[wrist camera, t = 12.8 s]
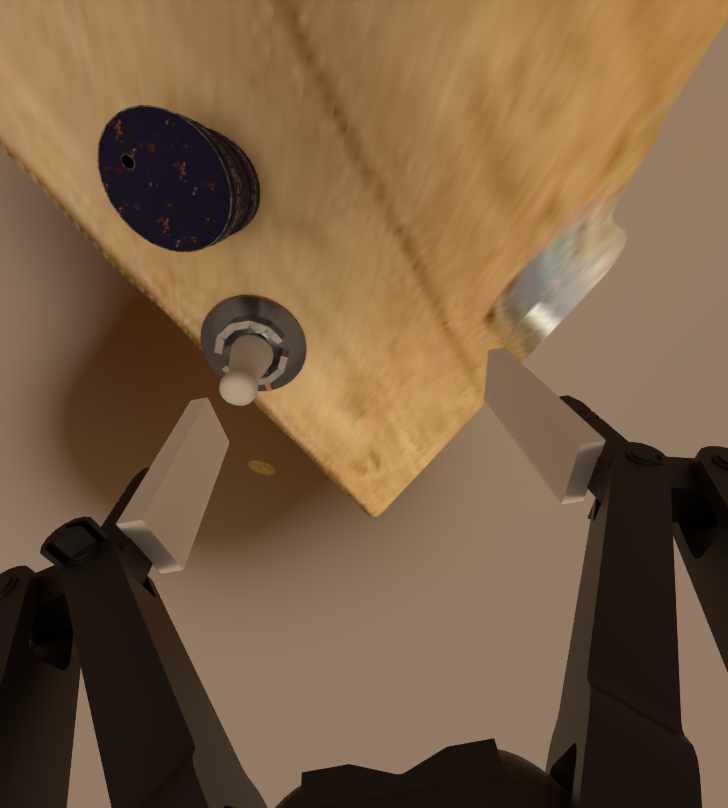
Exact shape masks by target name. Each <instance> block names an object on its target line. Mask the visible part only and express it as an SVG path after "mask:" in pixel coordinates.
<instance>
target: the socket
mask: <svg viewBox="0 0 728 808" xmlns="http://www.w3.org/2000/svg"><path fill="white" fill-rule="evenodd" d="M247 334H248V335H259V336H260V337H261V338H263V339H265V340H266V341H267V342H268V343H269V344H270V345H271V348H272V351H273V360H272V364H271V365H270V367H269V368H268V369H267V371H266V372H265V373H264V375H263V376H262V377H261V379H260V380H259V381H258V383H257V384H258V391H272V390H273V389H277V388H280V387H282V386H284V385H286V384H288V383H289V382H290V381H292V380H293V379H294V378H295V377H296V376H297V375H298V373H299V372H300V370H301V369H302V366H303V364H304V361H305V356H306V341H305V336H304V333H303V331H302V328H301V326H300V325H299V323H298V322H297V320H296V319H295V318H294V316H293V315H292V314H291V313H290V312H289V311H288V310H287V309H285V308H284V307H283V306H281V305H280V304H278V303H276V302H274V301H272V300H269V299H267V298H263V297H260V296H253V295H242V296H236V297H232V298H229V299H227V300H224V301H223V302H221V303H219V304H218V305H217V306H216V307H214V308H213V310H212V311H211V312H210V313H209V314H208V316H207V317H206V319H205V321H204V323H203V325H202V330H201V346H202V350H203V353H204V356H205V358H206V360H207V362H208V363H209V364H210V366H211V367H212V369H213V370H214V371H215V372H216V373H217V374H218V375H219V376H220V377H222V378H223V377H224V375H225V374H226V373H227V372H229V364H230V354H231V348H232V344H233V343H234V342H235V341H236V339H237V338H239V337H241V336H244V335H247Z"/></svg>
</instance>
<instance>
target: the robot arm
mask: <svg viewBox="0 0 728 808" xmlns="http://www.w3.org/2000/svg"><path fill="white" fill-rule="evenodd" d="M484 400H485V401H486V403H487V404H488V405H489V407H490V408H491V409H492V411H493V412H494V413H495V415H496V416H497V418H498V419H499V420H500V422H501V423H502V424H503V425H504V427H505V428H506V430H507V431H508V432H509V434H510V435H511V436H512V438H513V439H514V441H515V442H516V443H517V445H518V446H519V447H520V448H521V450H522V451H523V453H524V454H525V456H526V457H527V458H528V460H529V461H530V462H531V464H532V465H533V466H534V468H535V469H536V470H537V472H538V473H539V474H540V476H541V477H542V478H543V480H544V481H545V482H546V484H547V485H548V487H549V488H550V489H551V491H552V492H553V493H554V495H555V496H556V497H557V499H558V500H559V502H560V503H561V504H567V503H572V502H578V501H583V500H584V497H585V495H586V492H587V490H588V489H589V490H590V491H591V493H592V494H593V495H594V496H595V497H596V498H595V501H594V504H593V506H592V509H591V511H590V514H589V516H588V519H591V521H590V527H589V534H588V539H587V545H586V551H585V557H584V564H583V570H582V575H581V581H580V588H579V593H578V600H577V606H576V612H575V618H574V624H573V630H572V636H571V643H570V649H569V654H568V660H567V666H566V672H565V679H564V685H563V691H562V697H561V704H560V709H559V714H558V719H557V723H556V726H555V729H554V732H553V736H552V740H551V744H550V749H549V754H548V759H547V765H546V771H545V772H544V771H543V770H542V769H540V768H539V767H537V766H536V765H534V764H533V763H531V762H529V761H527V760H526V759H524V758H522V757H520V756H518V755H515V754H512V753H510V752H507V751H503V750H499V749H497V746H496V743H495V740H494V739H488V740H482V741H477V742H471V743H466V744H460V745H454V746H449V747H446V748H444V749H443V750H441V751H439V752H438V753H437V754H435V755H433V756H432V757H430V758H428V759H426V760H425V761H423V762H422V763H420V764H418V765H417V766H415V767H413V768H412V769H410V770H409V771H407V772H405V773H403V774H392V773H387V772H383V771H378V770H374V769H369V768H364V767H360V766H355V765H350V764H347V765H342V766H337V767H331V768H325V769H319V770H314V771H308V772H302V782H301V786H299V787H298V788H296V789H295V790H294V791H292V792H291V793H290V794H289V795H287V796H286V797H285V798H284V799H283V800H282V801H281V802H280V803H279V804H278V805H277V806H276V807H275V808H702V800H701V784H700V774H699V766H698V759H697V756H696V753H695V750H694V747H693V745H692V744H691V743H690V742H689V740H688V739H687V738H686V737H685V735H684V733H683V730H682V723H681V707H680V685H679V662H678V638H677V615H676V592H675V570H674V548H673V536H674V539H675V541H676V544H677V546H678V549H679V551H680V554H681V556H682V559H683V561H684V564H685V566H686V569H687V571H688V574H689V576H690V579H691V581H692V584H693V586H694V589H695V591H696V594H697V596H698V599H699V601H700V604H701V606H702V609H703V611H704V614H705V616H706V619H707V621H708V624H709V626H710V629H711V632H712V634H713V637H714V639H715V642H716V644H717V647H718V649H719V652H720V654H721V657H722V659H723V662H724V664H725V667H726V669H727V672H728V448H724V447H718V446H708V447H704V448H701V450H700V451H699V452H698V453H697V455H696V457H695V458H679V457H666V456H665V455H664V454H663V453H662V452H661V451H659V450H657V449H655V448H654V447H651V446H648V445H645V444H642V443H636V442H628V441H627V440H626V439H625V438H624V437H622V436H621V435H620V434H619V433H618V432H617V431H615V430H614V429H613V428H612V427H611V426H609V425H608V424H607V423H606V422H605V421H603V420H602V419H600V418H599V416H598V415H596V414H595V413H594V412H592V411H591V409H589V408H588V407H587V406H586V405H585V404H584V403H582V402H581V401H579V400H577V399H575V398H573V397H570V396H561V397H558V396H557V395H556V394H555V393H554V392H553V391H552V390H550V389H549V388H548V387H547V386H546V385H545V384H544V383H543V382H542V381H541V380H540V379H538V378H537V377H536V376H535V375H534V374H533V373H532V372H531V371H530V370H529V369H528V368H526V367H525V366H524V365H523V364H522V363H521V362H520V361H519V360H518V359H517V358H515V357H514V356H513V355H512V354H511V353H510V352H509V351H508V350H507V349H506V348H499V349H493V350H488V360H487V371H486V383H485V394H484ZM228 445H229V441H228V439H227V437H226V435H225V432H224V430H223V428H222V426H221V424H220V423H219V420H218V418H217V416H216V414H215V412H214V410H213V408H212V406H211V404H210V402H209V400H208V398H203V399H197V400H192V401H190V403H189V405H188V406H187V408H186V410H185V412H184V413H183V415H182V416H181V418H180V420H179V421H178V423H177V424H176V426H175V428H174V429H173V431H172V433H171V434H170V436H169V438H168V439H167V441H166V443H165V444H164V446H163V447H162V449H161V451H160V452H159V454H158V456H157V457H156V459H155V461H154V462H153V464H152V466H151V467H149V468H144V469H143V470H141V471H140V473H138V474H137V475H136V476H135V477H134V478H133V479H132V480H131V482H130V484H129V485H128V486H127V488H126V489H125V492H124V493H123V494H122V496H121V497H120V499H119V502H117V503H116V505H115V506H114V508H113V510H112V511H111V513H110V514H109V516H108V517H107V519H106V520H105V522H104V523H103V525H102V527H100V526H99V525H98V524H97V523H96V522H95V521H94V520H93V519H92V518H91V517H81V518H77V519H74V520H72V521H69V522H67V523H65V524H64V525H62V526H61V527H59V528H58V529H57V530H55V531H54V532H53V533H52V534H51V535H50V536H49V537H48V538H47V539H46V540H45V542H44V543H43V545H42V547H41V551H40V553H41V554H42V555H43V556H44V557H45V558H47V559H48V560H49V561H50V562H52V563H53V564H54V566H51V567H49V568H47V569H44V570H42V571H40V572H37V573H35V572H34V571H33V570H31V569H30V568H28V567H27V566H17V567H14V568H11V569H8V570H7V571H5V572H3V573H1V574H0V808H67V797H68V788H69V777H70V768H71V758H72V748H73V738H74V728H75V719H76V709H77V699H78V688H79V679H80V669H82V674H83V678H84V683H85V687H86V692H87V697H88V701H89V705H90V710H91V715H92V720H93V724H94V729H95V733H96V738H97V742H98V747H99V752H100V756H101V761H102V766H103V770H104V775H105V779H106V784H107V789H108V793H109V798H110V802H111V807H112V808H267V806H266V804H265V802H264V800H263V798H262V797H261V795H260V793H259V792H258V790H257V789H256V787H255V786H254V785H253V783H252V782H251V781H250V779H249V778H248V777H247V775H246V774H245V772H244V770H243V768H242V766H241V764H240V762H239V760H238V758H237V756H236V754H235V752H234V750H233V748H232V746H231V743H230V741H229V739H228V737H227V735H226V733H225V731H224V729H223V727H222V725H221V723H220V720H219V718H218V716H217V714H216V712H215V710H214V708H213V706H212V704H211V702H210V700H209V698H208V695H207V694H206V691H205V689H204V687H203V685H202V683H201V681H200V679H199V677H198V675H197V673H196V671H195V669H194V666H193V664H192V662H191V660H190V658H189V656H188V654H187V652H186V650H185V648H184V645H183V643H182V641H181V639H180V637H179V635H178V633H177V631H176V629H175V627H174V625H173V623H172V620H171V619H170V616H169V615H168V612H167V610H166V608H165V606H164V604H163V602H162V600H161V598H160V595H159V594H158V592H157V589H156V587H155V585H154V583H153V581H152V580H151V579H150V578H149V577H148V576H147V575H148V573H149V571H150V569H151V566H152V564H153V565H154V566H155V568H156V569H157V570H158V571H159V572H160V573H161V574H162V573H167V572H173V571H179V570H183V569H184V566H185V564H186V561H187V558H188V555H189V553H190V550H191V547H192V544H193V542H194V539H195V536H196V533H197V530H198V528H199V525H200V522H201V519H202V517H203V514H204V511H205V509H206V506H207V503H208V500H209V498H210V495H211V492H212V489H213V486H214V484H215V481H216V478H217V476H218V473H219V470H220V467H221V464H222V461H223V459H224V456H225V453H226V451H227V448H228Z"/></svg>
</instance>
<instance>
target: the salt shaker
mask: <svg viewBox="0 0 728 808" xmlns="http://www.w3.org/2000/svg"><path fill="white" fill-rule="evenodd" d="M272 360H273V351H272V348H271V345H270V344H269V343H268V342H267V341H266V340H265V339H263V338H261V337H260V336H259V335H248V334H247V335H244V336H241V337H239V338H237V339H236V341H235V342H234V343H233V344H232V348H231V354H230V364H229V372H227V373H226V374H225V375H224V377H223V378H222V379H221V381H220V388H219V391H220V394H221V396H222V397H223V398H224V399H225V400H226V401H227V402H228V403H231V404H233V405H241V406H243V405H246V404H249V403H250V402H252V400H253V399H254V398H255V397H256V396H257V391H258V384H257V383H258V381H259V380H260V379H261V377H262V376H263V375H264V373H265V372H266V371H267V369H268V368H269V367H270V365H271V364H272Z"/></svg>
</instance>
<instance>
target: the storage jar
mask: <svg viewBox="0 0 728 808" xmlns="http://www.w3.org/2000/svg"><path fill="white" fill-rule="evenodd" d="M98 168H99V173H100V178H101V181H102V184H103V187H104V190H105V192H106V194H107V196H108V198H109V200H110V202H111V204H112V205H113V207H114V208H115V210H116V212H117V213H118V214H119V215H120V217H121V218H122V219H123V220H124V222H125V223H126V224H127V225H128V226H129V227H130V228H131V229H132V230H134V231H135V232H136V233H137V234H139V235H140V236H141V237H142V238H144V239H146V240H147V241H149V242H151V243H152V244H155V245H157V246H159V247H161V248H164V249H167V250H171V251H177V252H193V251H198V250H201V249H204V248H206V247H209V246H212V245H215V244H216V243H218V242H221V241H222V240H224V239H226V238H227V237H228V236H230V235H232V234H235V233H236V232H238V231H240V230H242V229H243V228H244V227H245V226H246V225H247V224H248V223H250V222H251V220H252V219H253V218H254V216H255V214H256V212H257V210H258V206H259V202H260V186H259V180H258V177H257V174H256V171H255V169H254V167H253V165H252V163H251V161H250V159H249V158H248V157H247V155H246V154H245V153H244V152H243V151H242V150H241V148H240V147H238V146H237V145H236V144H235V143H234V142H232V141H231V140H229V139H228V138H227V137H225V136H223V135H222V134H220V133H218V132H216V131H213V130H211V129H208V128H206V127H204V126H203V125H201V124H199V123H198V122H196V121H193V120H192V119H190V118H187V117H185V116H183V115H180V114H178V113H174V112H172V111H169V110H167V109H164V108H160V107H156V106H148V105H139V106H133V107H129V108H127V109H124V110H122V111H120V112H119V113H117V114H116V115H115V116H113V117H112V118H111V120H110V121H109V122H108V123H107V124H106V126H105V128H104V130H103V132H102V134H101V137H100V141H99V145H98Z"/></svg>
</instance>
